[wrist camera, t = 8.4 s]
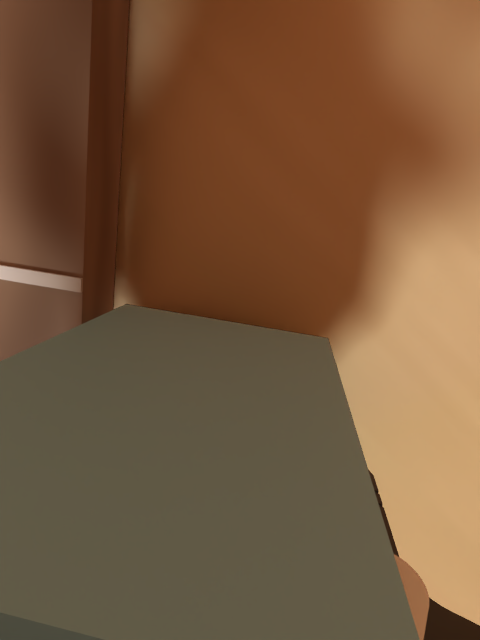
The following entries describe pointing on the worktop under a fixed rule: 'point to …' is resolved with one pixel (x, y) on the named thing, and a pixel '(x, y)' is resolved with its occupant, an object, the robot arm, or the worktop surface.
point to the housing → (188, 489)
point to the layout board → (59, 164)
